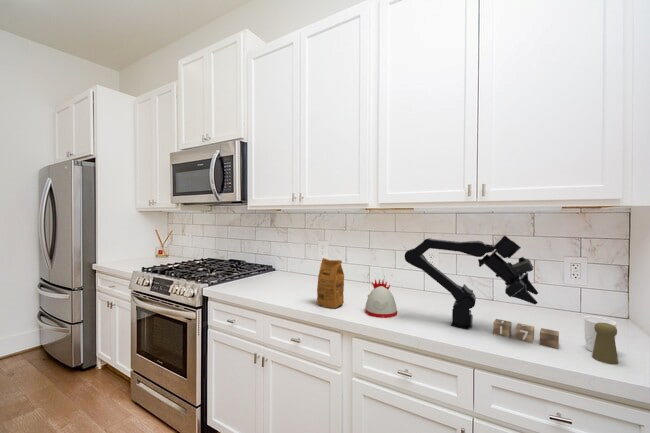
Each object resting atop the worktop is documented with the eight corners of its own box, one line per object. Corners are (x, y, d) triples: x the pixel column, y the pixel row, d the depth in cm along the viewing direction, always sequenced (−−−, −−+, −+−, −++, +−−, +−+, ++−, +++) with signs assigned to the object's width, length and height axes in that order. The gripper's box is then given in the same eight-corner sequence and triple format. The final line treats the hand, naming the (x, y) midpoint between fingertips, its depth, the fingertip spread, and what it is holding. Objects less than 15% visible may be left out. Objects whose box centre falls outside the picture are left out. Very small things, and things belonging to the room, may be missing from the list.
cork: (605, 354, 98) (605, 320, 98) (624, 364, 92) (625, 327, 91) (586, 354, 97) (587, 320, 97) (604, 364, 91) (605, 327, 91)
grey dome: (365, 307, 145) (366, 275, 144) (395, 308, 142) (396, 276, 142) (364, 316, 131) (364, 281, 131) (397, 319, 129) (398, 283, 128)
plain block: (539, 345, 105) (539, 332, 104) (540, 340, 108) (541, 327, 108) (557, 349, 101) (558, 335, 101) (558, 344, 105) (558, 331, 105)
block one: (493, 334, 113) (493, 322, 113) (496, 330, 117) (496, 318, 117) (508, 338, 110) (509, 325, 110) (511, 333, 114) (511, 321, 114)
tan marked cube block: (515, 339, 109) (515, 326, 109) (517, 335, 113) (517, 322, 113) (532, 343, 106) (532, 330, 106) (533, 338, 110) (534, 326, 110)
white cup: (620, 358, 96) (621, 326, 95) (589, 353, 98) (590, 322, 98) (608, 347, 103) (609, 318, 103) (579, 343, 106) (580, 314, 106)
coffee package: (326, 300, 155) (326, 256, 155) (346, 305, 147) (347, 259, 147) (313, 304, 147) (313, 258, 147) (333, 310, 139) (334, 261, 139)
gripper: (514, 259, 104) (556, 294, 99) (518, 246, 119) (555, 276, 114) (489, 280, 110) (528, 314, 104) (496, 265, 124) (531, 294, 119)
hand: (536, 298), depth 110 cm, fingers open, 9 cm apart
